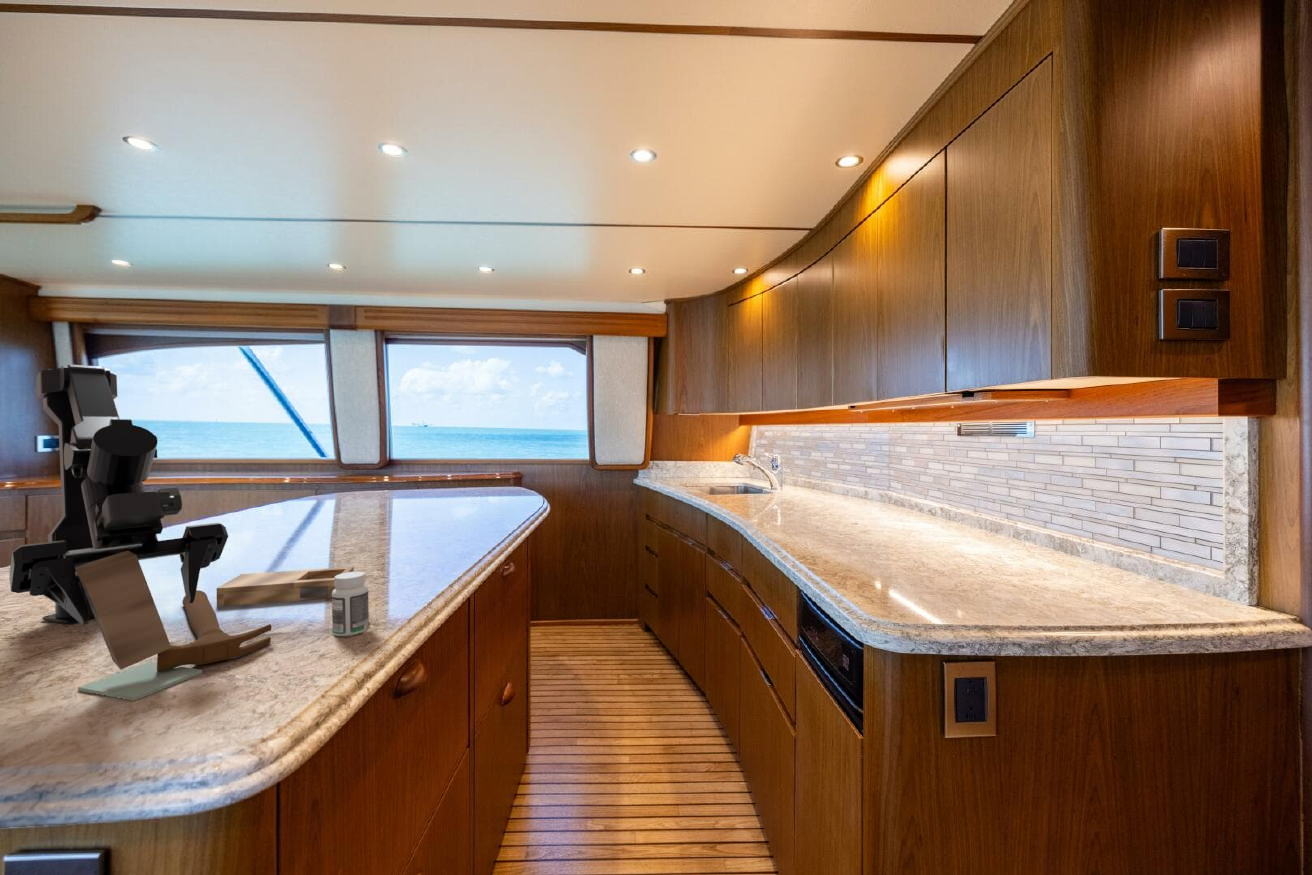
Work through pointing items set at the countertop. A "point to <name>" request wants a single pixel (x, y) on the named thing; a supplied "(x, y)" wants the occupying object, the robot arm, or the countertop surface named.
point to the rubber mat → (139, 681)
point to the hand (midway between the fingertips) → (142, 611)
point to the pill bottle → (350, 604)
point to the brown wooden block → (123, 608)
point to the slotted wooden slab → (279, 586)
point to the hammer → (208, 639)
